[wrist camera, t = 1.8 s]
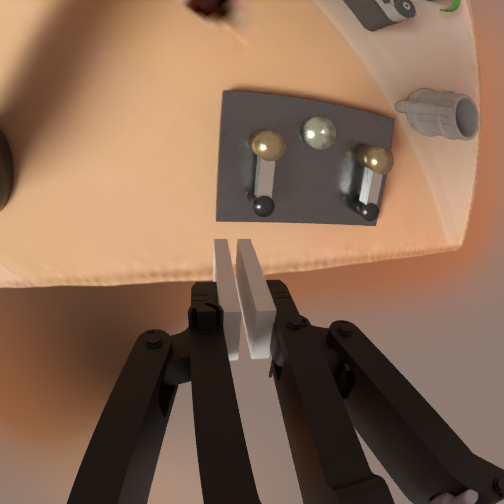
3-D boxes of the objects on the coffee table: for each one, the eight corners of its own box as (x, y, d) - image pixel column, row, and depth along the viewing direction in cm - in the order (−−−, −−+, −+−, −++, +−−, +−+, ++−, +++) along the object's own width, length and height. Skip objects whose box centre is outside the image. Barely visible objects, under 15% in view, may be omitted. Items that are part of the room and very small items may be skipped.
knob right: (347, 211, 37) (361, 222, 33) (358, 142, 32) (374, 146, 29) (366, 213, 37) (381, 223, 34) (378, 146, 33) (395, 151, 29)
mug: (437, 136, 36) (491, 151, 25) (382, 130, 34) (440, 142, 24) (437, 92, 32) (492, 98, 21) (381, 80, 31) (439, 77, 20)
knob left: (244, 207, 34) (249, 218, 31) (250, 128, 30) (256, 130, 26) (270, 208, 35) (278, 219, 31) (277, 131, 31) (287, 132, 27)
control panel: (215, 216, 37) (216, 226, 33) (222, 92, 29) (224, 88, 26) (369, 221, 41) (381, 230, 37) (386, 118, 33) (401, 120, 30)
